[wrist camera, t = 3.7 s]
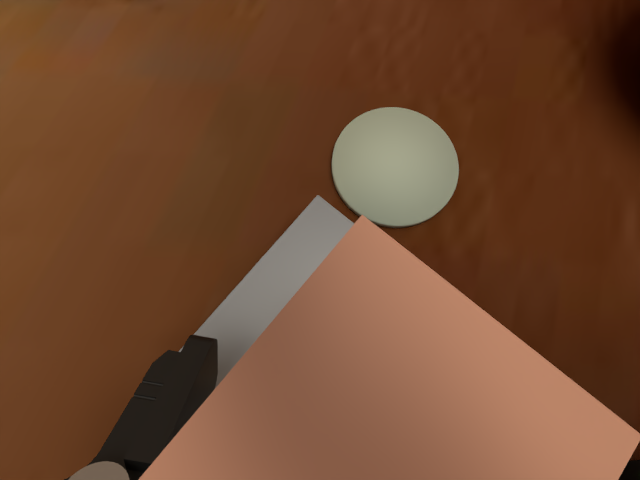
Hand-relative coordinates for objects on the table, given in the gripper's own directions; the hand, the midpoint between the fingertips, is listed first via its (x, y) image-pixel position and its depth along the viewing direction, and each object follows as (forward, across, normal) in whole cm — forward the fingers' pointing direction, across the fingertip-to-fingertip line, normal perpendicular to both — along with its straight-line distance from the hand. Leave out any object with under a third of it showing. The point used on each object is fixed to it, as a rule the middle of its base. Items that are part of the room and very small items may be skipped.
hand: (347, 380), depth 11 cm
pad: (+13, -2, -2) cm, 14 cm away
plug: (+5, 0, +5) cm, 7 cm away
